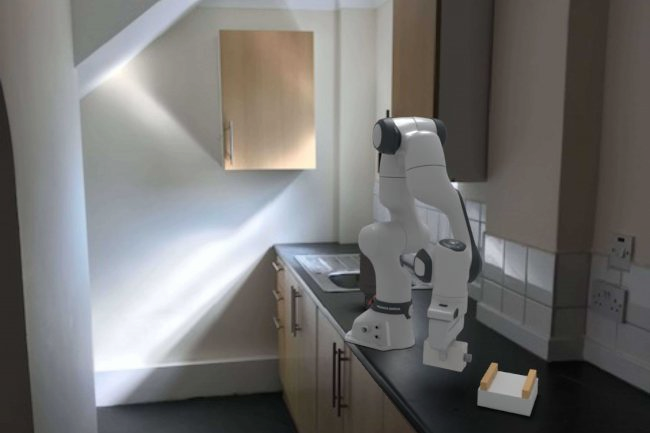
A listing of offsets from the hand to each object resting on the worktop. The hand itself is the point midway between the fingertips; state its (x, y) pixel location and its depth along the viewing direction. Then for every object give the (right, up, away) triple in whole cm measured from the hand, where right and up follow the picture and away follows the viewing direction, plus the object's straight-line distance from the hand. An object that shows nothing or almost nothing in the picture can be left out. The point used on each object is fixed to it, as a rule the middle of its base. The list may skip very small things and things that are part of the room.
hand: (446, 355), depth 146 cm
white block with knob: (0, -2, 0) cm, 2 cm away
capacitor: (-11, 0, +73) cm, 74 cm away
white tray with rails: (+14, -9, -6) cm, 18 cm away
